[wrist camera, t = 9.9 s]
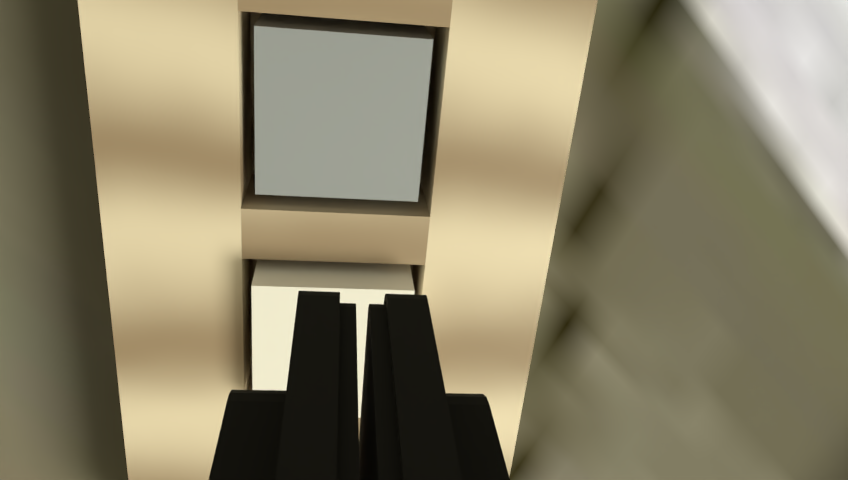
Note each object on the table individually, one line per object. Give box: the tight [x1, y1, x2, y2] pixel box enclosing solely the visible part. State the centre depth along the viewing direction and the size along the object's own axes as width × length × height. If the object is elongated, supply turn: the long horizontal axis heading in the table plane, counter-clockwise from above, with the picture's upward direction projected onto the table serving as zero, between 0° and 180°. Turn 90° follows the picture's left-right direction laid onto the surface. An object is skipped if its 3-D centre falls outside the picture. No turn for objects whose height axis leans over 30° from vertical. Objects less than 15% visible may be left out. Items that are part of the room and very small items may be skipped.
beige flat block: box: [78, 0, 598, 480], centre depth 26 cm, size 24×14×4 cm, turn 175°
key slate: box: [254, 13, 433, 202], centre depth 23 cm, size 5×5×2 cm
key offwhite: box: [251, 259, 415, 418], centre depth 25 cm, size 5×5×2 cm
